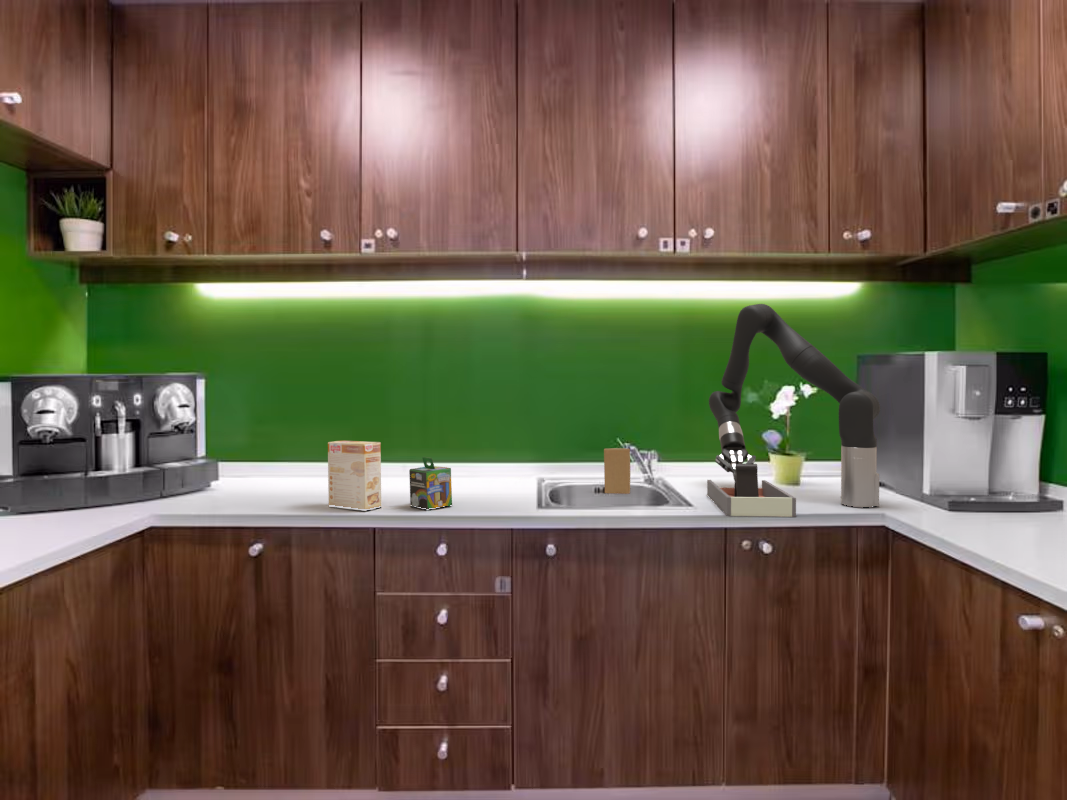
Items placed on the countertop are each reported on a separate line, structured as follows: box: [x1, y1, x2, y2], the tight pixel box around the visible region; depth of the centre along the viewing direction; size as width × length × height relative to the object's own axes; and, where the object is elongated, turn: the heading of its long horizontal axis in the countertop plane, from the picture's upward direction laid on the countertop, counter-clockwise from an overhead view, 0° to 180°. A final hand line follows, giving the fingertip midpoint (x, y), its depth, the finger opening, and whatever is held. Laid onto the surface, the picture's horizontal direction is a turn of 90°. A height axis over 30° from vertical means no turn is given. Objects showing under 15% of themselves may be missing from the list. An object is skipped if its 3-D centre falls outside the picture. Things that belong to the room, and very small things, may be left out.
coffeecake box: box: [327, 440, 382, 509], centre depth 189 cm, size 15×7×20 cm, turn 59°
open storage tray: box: [706, 479, 797, 518], centre depth 190 cm, size 18×32×5 cm, turn 174°
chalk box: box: [409, 456, 453, 509], centre depth 190 cm, size 9×9×15 cm
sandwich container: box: [603, 447, 631, 495], centre depth 219 cm, size 9×15×15 cm, turn 172°
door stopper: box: [733, 463, 759, 497], centre depth 192 cm, size 9×6×12 cm, turn 170°
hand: (739, 481), depth 201 cm, fingers closed
